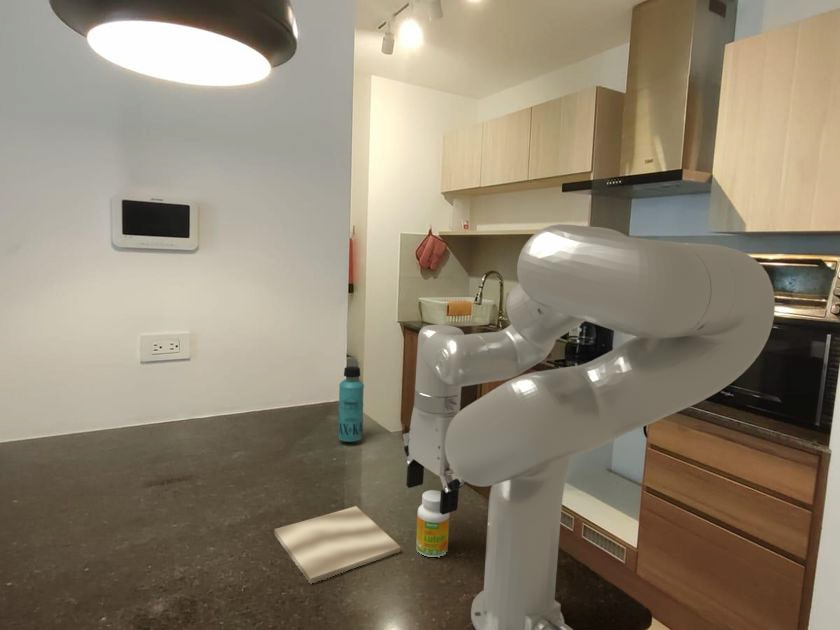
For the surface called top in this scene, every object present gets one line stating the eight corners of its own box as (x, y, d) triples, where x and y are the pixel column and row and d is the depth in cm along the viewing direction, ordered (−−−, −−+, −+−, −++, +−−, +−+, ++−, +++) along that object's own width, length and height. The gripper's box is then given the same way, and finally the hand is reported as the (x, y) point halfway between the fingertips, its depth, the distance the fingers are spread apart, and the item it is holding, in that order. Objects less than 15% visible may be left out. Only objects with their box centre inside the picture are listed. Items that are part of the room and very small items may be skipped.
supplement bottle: (420, 561, 84) (423, 504, 83) (412, 542, 89) (414, 489, 88) (452, 557, 86) (454, 501, 85) (442, 539, 91) (444, 486, 90)
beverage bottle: (334, 439, 135) (335, 365, 133) (358, 436, 138) (360, 363, 136) (341, 448, 130) (342, 371, 127) (366, 445, 132) (368, 369, 130)
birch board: (400, 552, 86) (400, 547, 86) (310, 584, 77) (310, 578, 77) (356, 511, 99) (356, 506, 99) (274, 534, 90) (274, 529, 90)
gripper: (490, 414, 80) (481, 516, 82) (425, 383, 94) (420, 472, 96) (451, 421, 75) (443, 529, 78) (390, 389, 89) (385, 481, 92)
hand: (430, 498), depth 87 cm, fingers open, 9 cm apart
